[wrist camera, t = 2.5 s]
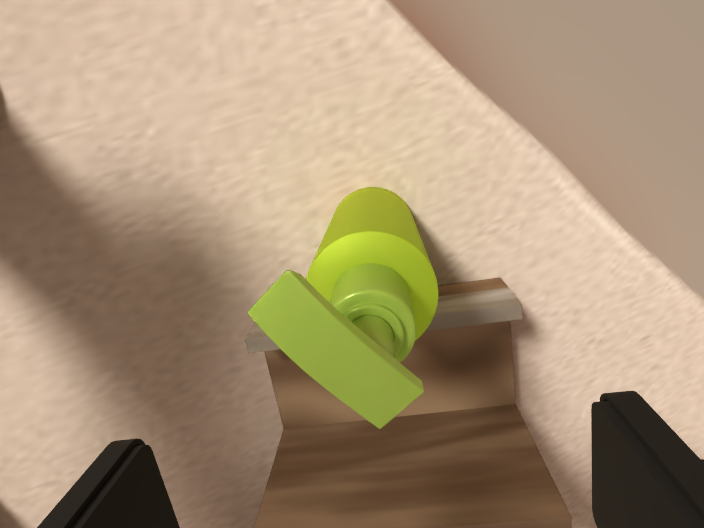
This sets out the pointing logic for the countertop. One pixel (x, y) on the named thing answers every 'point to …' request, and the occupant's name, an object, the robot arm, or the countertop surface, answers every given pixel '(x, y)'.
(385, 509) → the board
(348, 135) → the countertop surface
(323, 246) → the soap dispenser
